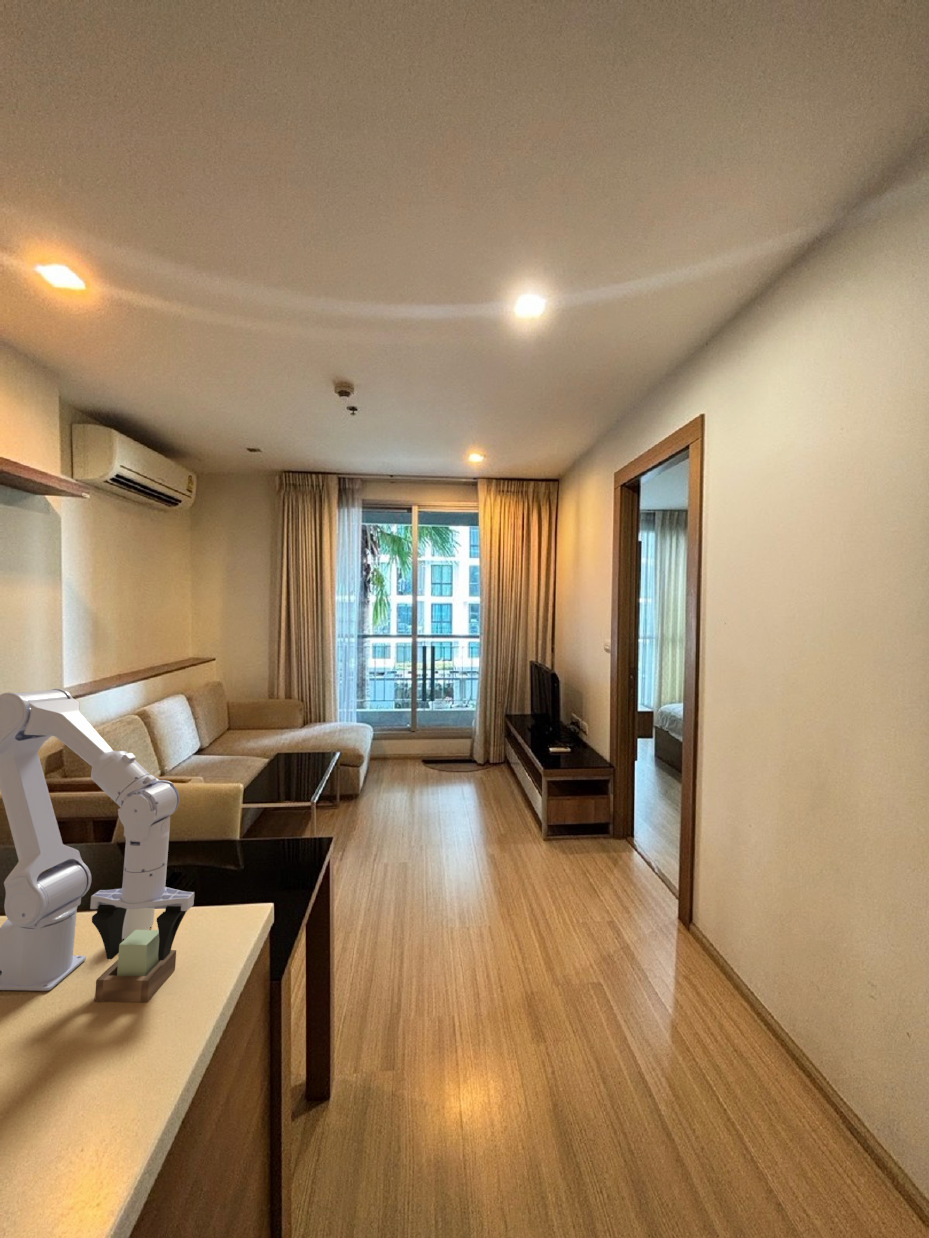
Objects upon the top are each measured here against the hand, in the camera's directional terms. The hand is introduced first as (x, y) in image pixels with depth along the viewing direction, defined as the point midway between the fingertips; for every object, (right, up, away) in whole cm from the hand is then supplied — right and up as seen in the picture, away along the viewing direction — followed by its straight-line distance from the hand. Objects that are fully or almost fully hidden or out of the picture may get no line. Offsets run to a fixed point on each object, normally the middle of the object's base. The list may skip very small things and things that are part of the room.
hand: (139, 955), depth 78 cm
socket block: (0, -4, 0) cm, 4 cm away
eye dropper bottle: (-9, -5, +13) cm, 17 cm away
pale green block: (0, -4, 0) cm, 4 cm away
